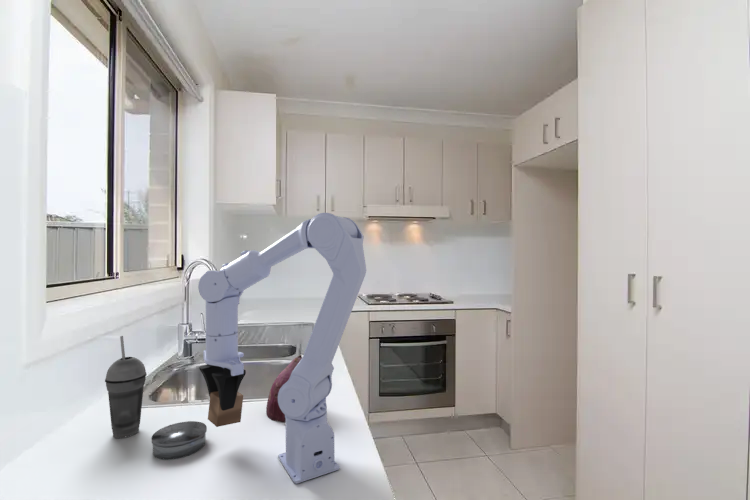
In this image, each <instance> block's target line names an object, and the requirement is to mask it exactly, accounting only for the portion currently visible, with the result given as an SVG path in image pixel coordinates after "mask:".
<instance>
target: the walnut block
mask: <svg viewBox="0 0 750 500" xmlns="http://www.w3.org/2000/svg"><path fill="white" fill-rule="evenodd" d="M243 402H244V394H242V393H240V392H239V391H238V392H237V396H236V400H235V404H234V408H231V409H228V410H224V411H223V410H222V409H221V406H220V401H219V393H218V391H217V392H211V394H210V396H209V405H208V412H207V413H208V414H207V420H208V421H209V422H210V423H211V424H212V425H214V426H215V427H216V428H218V427H223V426H228V425H233V424H236V423H241V420H242V411H243Z"/></svg>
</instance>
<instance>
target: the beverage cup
mask: <svg viewBox="0 0 750 500" xmlns="http://www.w3.org/2000/svg"><path fill="white" fill-rule="evenodd" d="M119 339H120V349H121V357H120V358H119V359H117V360H116V361H114V362H113V363H112V364H111V365H110V366H109V367H108V370H107V371H106V375H105V379H104V383H105V387H106V390H107V396H108V405H109V415H110V423H111V424H110V426H111V430H112V431H111V432H112V437H113V438H114V439H125V438H129V437H132V436H134V435H136V434H137V433H139V431H140V425H141V417H142V416H141V415H142V406H143V397H144V395H143V394H144V385H145V383H146V379H147V378H146V377H147V371H146V366H145V364H144V363H143V361H142V360H140V359H139V358H136V357H132V356H126V352H125V344H124V336H123V335H121V336H119Z"/></svg>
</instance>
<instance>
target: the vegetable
mask: <svg viewBox="0 0 750 500" xmlns="http://www.w3.org/2000/svg"><path fill="white" fill-rule="evenodd" d="M302 357H303V356H302V354H299V355H298V356H296V357H294V358H293V359H292V360H291V362H289V364H287V365H286V367H285V368H284V369H282V370H281V372H280V373H279V374H278V375H277V377H276V378H275V379H274V381H273V383H272V385H271V387H270V390H269V394H268V397H267V402H266V406H265V407H266V408H265V409H266V411H265V412H266V413H265V414H266V417H267V418H268V419H270V420H271V421H275V422H281V423H286V418H285V414H284V413H283V412H282V411H281V409H280V407H279V404H278V393H279V390H280V388H281V387H282V386H283V385H284V384H285V383H286V382H287V381H288V380H289V378H290V376H291V373H292V371H293V370H294V368H295V367H296V366H297V364H298V363H299V362H300V360H301V359H302Z"/></svg>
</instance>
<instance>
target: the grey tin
mask: <svg viewBox="0 0 750 500" xmlns="http://www.w3.org/2000/svg"><path fill="white" fill-rule="evenodd" d="M207 432H208V428H207V425H206V423H204V422H202V421H201V422H200V421H196V420H195V421H194V420H193V421H191V420H189V421H187V420H186V421H181V422H176V423H172V424H169V425H167V426H164V427H162V428H160V429H158V430H157V431H155V432H154V433H153V434H152V435H151V438H150V439H151V441H150V442H151V444H152V456H153V457H154V458H155V459H157V460H167V461H170V460H172V461H173V460H177V459H182V458H185V457H189V456H191V455H194V454H195V453H197V452H199V451H200V450H201V449H203V448H204V446H205V445H206V441H207V440H206V438H207V437H206V435H207V434H206V433H207Z"/></svg>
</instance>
